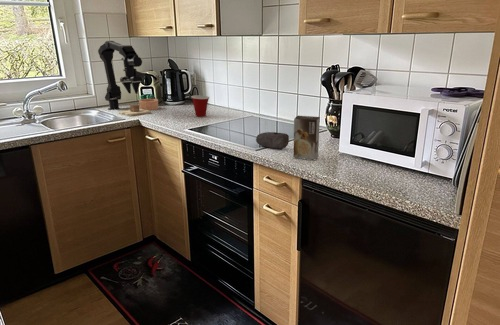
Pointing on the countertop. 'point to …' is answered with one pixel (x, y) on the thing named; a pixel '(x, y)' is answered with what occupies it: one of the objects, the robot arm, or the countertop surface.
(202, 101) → the plastic cup
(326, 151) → the countertop surface
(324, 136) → the countertop surface
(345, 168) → the countertop surface
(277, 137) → the perforated stone tool
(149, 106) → the bowl
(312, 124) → the coffee box
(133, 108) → the lid
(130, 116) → the mat
